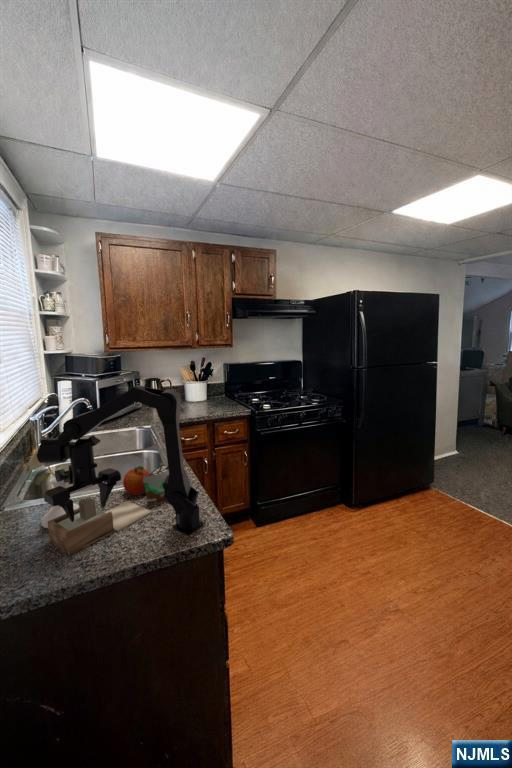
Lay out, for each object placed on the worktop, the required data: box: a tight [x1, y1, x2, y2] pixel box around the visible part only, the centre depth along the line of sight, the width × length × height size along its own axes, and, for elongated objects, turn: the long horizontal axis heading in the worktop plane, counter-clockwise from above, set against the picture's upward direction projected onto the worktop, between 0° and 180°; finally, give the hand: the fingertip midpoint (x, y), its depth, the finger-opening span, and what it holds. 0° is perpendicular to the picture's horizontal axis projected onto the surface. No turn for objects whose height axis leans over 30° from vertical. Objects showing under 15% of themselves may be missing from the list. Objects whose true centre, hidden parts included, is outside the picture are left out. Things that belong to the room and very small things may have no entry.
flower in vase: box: [27, 449, 79, 529], centre depth 94 cm, size 13×11×25 cm
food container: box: [143, 463, 169, 505], centre depth 109 cm, size 12×6×10 cm, turn 168°
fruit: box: [122, 465, 151, 496], centre depth 114 cm, size 10×10×10 cm
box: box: [47, 508, 115, 556], centre depth 88 cm, size 11×12×6 cm
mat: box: [103, 500, 153, 532], centre depth 98 cm, size 13×12×1 cm
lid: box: [58, 497, 106, 531], centre depth 88 cm, size 8×10×5 cm
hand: (88, 514), depth 89 cm, fingers open, 8 cm apart
